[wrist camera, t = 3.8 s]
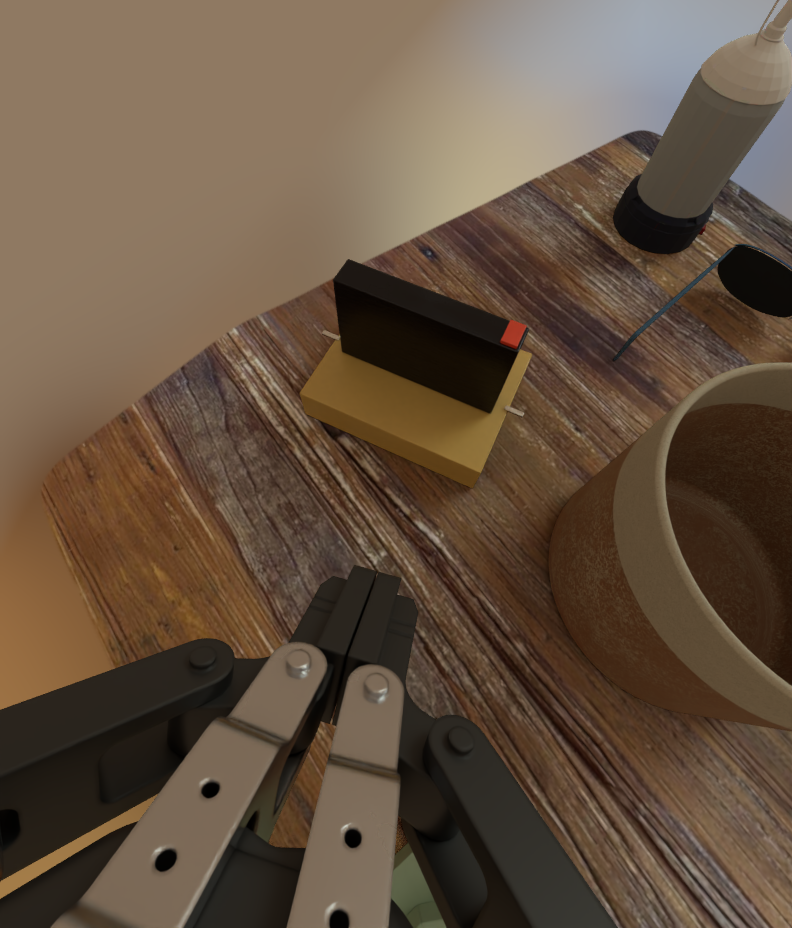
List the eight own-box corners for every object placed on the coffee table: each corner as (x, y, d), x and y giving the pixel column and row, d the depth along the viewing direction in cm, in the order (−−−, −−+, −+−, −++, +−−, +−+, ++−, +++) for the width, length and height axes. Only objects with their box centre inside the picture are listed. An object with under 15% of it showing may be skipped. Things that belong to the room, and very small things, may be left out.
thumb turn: (341, 352, 34) (332, 276, 27) (353, 333, 34) (347, 254, 28) (490, 414, 32) (519, 349, 25) (500, 393, 33) (531, 324, 26)
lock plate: (293, 408, 35) (285, 386, 32) (358, 311, 39) (356, 283, 36) (486, 495, 33) (496, 479, 30) (534, 381, 37) (547, 358, 34)
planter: (697, 450, 35) (877, 329, 22) (831, 665, 29) (1184, 668, 16) (508, 504, 32) (589, 404, 20) (611, 751, 26) (823, 831, 14)
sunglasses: (884, 396, 37) (950, 364, 33) (776, 511, 35) (830, 495, 30) (707, 276, 42) (742, 233, 38) (601, 370, 40) (625, 336, 35)
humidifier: (712, 240, 44) (1067, -209, 21) (645, 263, 43) (950, -196, 20) (662, 189, 47) (926, -255, 24) (597, 208, 46) (814, -247, 23)
